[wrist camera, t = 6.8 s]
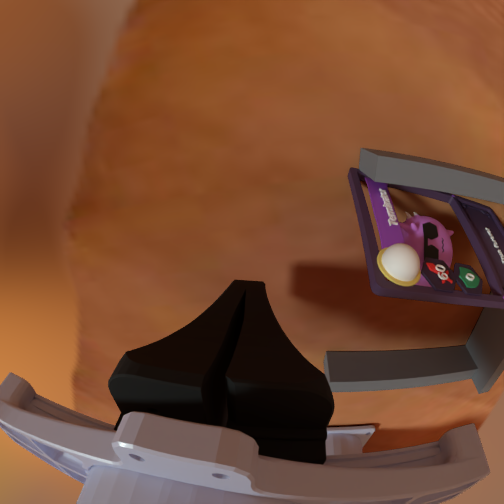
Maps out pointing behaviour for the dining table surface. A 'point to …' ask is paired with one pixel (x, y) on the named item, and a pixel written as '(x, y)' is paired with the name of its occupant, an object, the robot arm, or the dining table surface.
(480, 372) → the frame
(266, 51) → the dining table surface
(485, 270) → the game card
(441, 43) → the dining table surface
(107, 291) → the dining table surface
